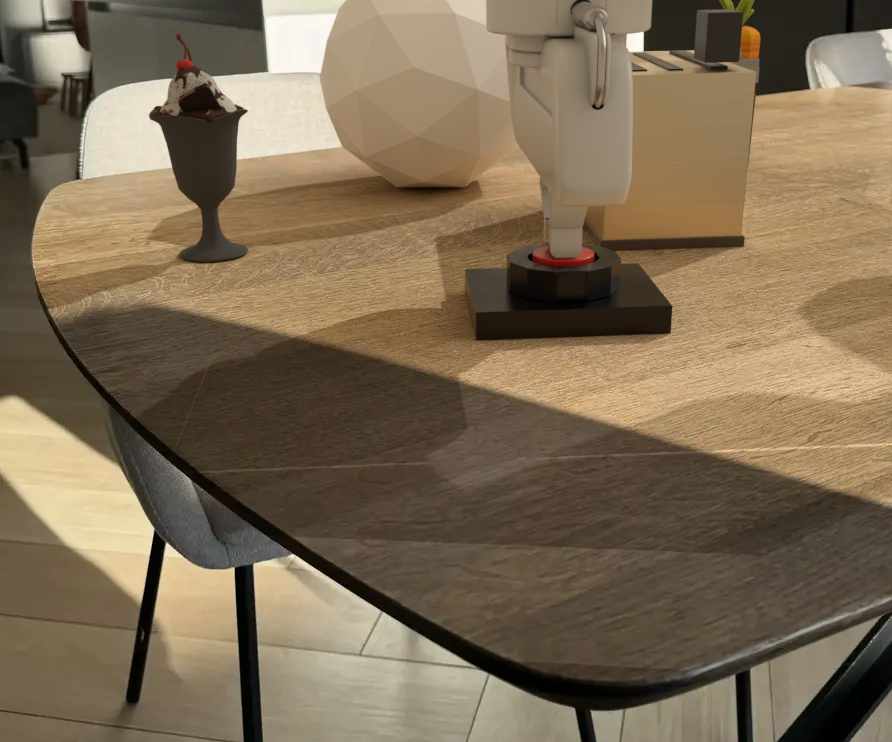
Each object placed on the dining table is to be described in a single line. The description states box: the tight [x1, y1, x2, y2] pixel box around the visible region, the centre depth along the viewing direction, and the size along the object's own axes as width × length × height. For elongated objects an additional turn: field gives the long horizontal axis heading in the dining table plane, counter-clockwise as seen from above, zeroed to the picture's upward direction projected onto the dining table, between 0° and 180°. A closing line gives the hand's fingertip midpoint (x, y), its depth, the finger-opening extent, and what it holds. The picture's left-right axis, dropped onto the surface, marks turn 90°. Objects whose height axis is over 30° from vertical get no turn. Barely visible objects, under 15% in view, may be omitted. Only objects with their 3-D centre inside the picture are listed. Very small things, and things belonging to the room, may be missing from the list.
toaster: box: [582, 49, 756, 252], centre depth 85 cm, size 10×16×12 cm, turn 3°
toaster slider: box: [694, 9, 743, 63], centre depth 77 cm, size 2×3×3 cm
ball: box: [319, 0, 520, 189], centre depth 99 cm, size 19×20×20 cm
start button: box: [532, 246, 594, 266], centre depth 65 cm, size 4×4×2 cm
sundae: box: [148, 32, 249, 263], centre depth 78 cm, size 7×7×15 cm
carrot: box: [718, 0, 761, 59], centre depth 121 cm, size 5×5×15 cm
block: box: [464, 242, 673, 342], centre depth 66 cm, size 11×9×4 cm
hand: (561, 251), depth 65 cm, fingers closed, pressing on start button
